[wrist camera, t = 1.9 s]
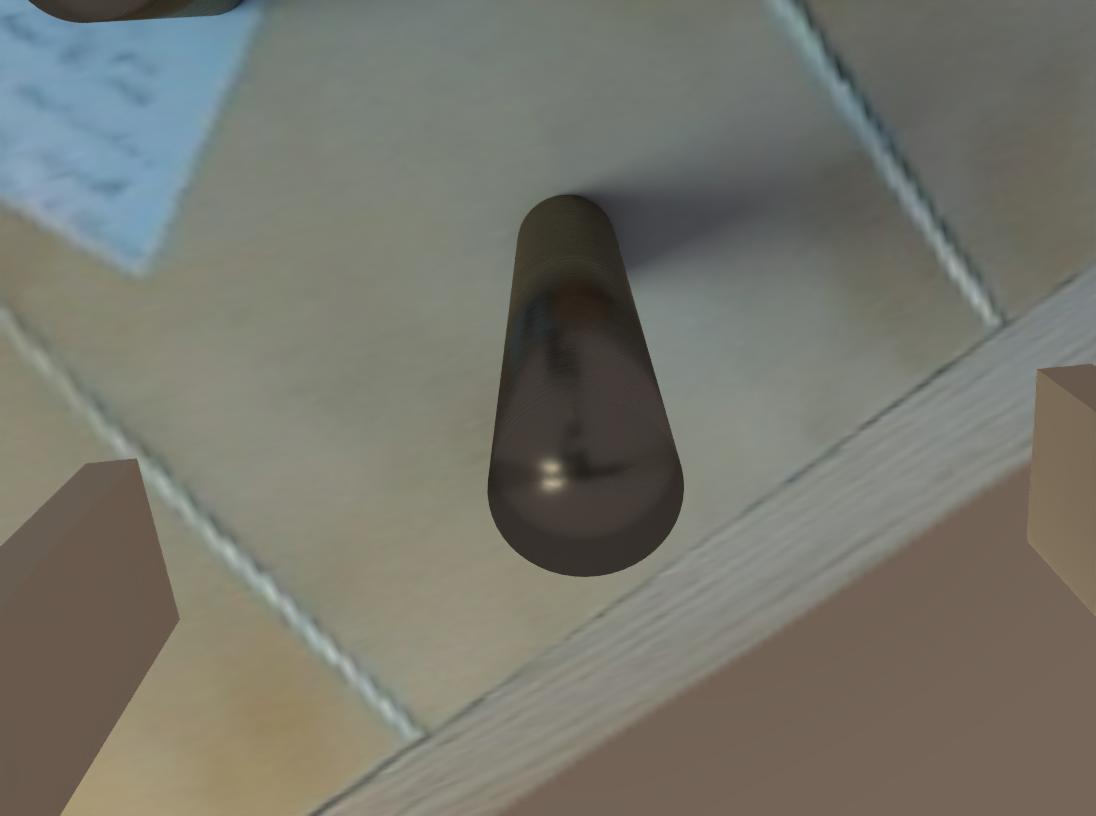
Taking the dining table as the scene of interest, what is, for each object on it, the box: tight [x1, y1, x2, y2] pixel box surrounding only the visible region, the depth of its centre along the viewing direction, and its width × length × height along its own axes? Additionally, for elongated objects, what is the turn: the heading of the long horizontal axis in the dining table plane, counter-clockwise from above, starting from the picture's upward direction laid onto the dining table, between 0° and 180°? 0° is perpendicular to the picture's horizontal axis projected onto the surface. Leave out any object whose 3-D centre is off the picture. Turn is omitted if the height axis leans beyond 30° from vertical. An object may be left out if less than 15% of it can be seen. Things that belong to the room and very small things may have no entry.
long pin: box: [488, 195, 684, 577], centre depth 22 cm, size 3×3×16 cm
